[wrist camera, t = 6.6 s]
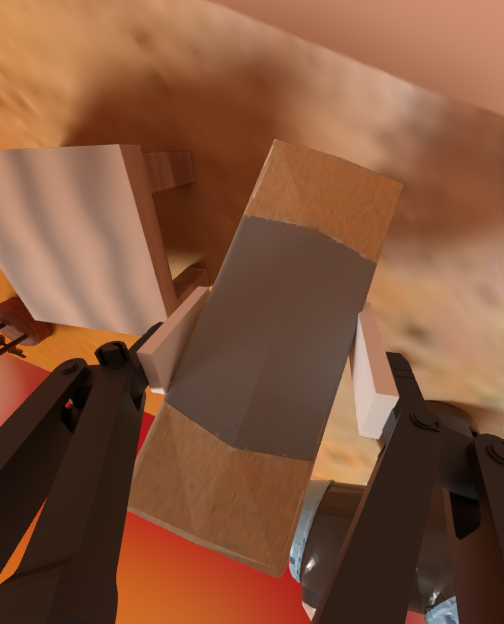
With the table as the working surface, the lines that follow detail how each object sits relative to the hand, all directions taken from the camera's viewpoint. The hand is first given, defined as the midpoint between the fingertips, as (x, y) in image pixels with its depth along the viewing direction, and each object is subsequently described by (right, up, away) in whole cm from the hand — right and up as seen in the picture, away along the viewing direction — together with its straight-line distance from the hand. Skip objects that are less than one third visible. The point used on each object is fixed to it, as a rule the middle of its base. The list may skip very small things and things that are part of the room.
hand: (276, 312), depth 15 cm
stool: (-17, +12, +18) cm, 28 cm away
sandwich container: (+2, +3, +3) cm, 5 cm away
